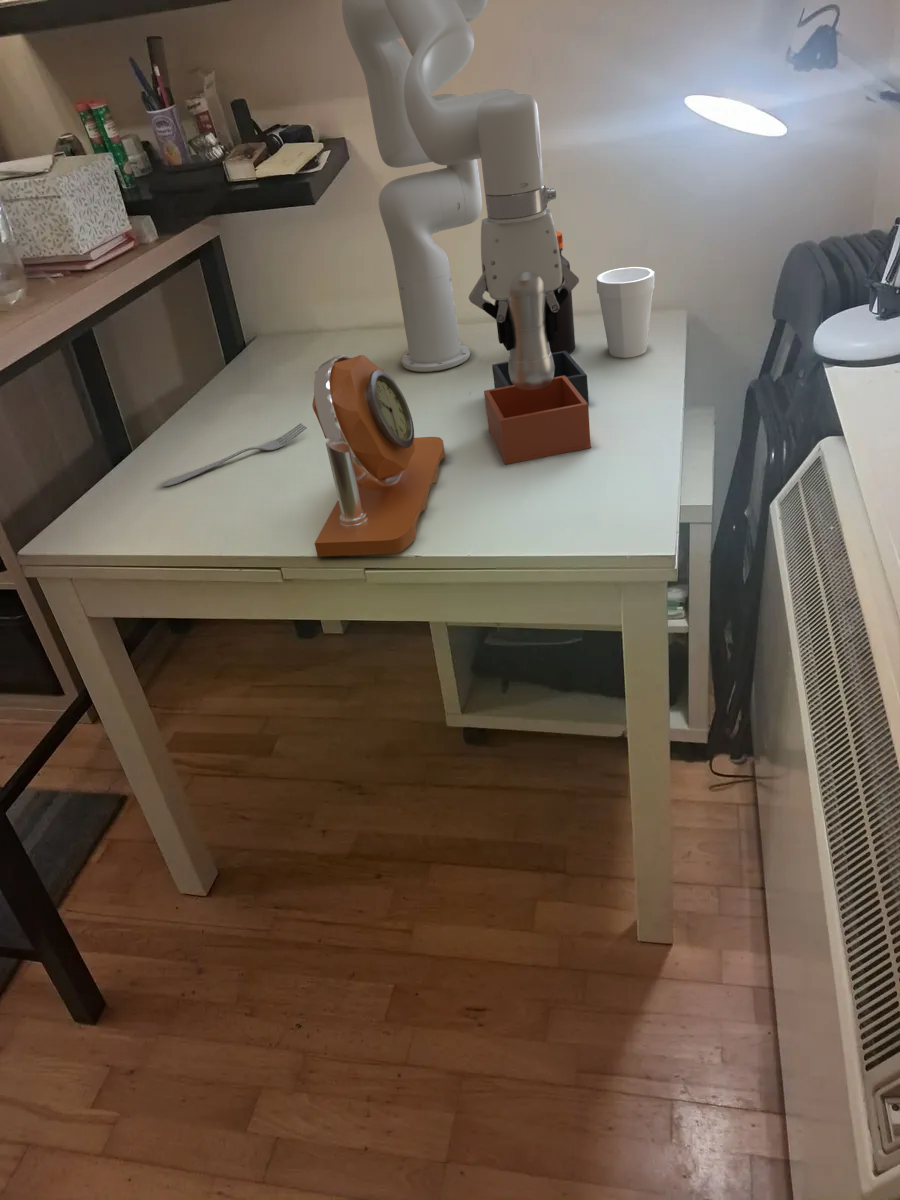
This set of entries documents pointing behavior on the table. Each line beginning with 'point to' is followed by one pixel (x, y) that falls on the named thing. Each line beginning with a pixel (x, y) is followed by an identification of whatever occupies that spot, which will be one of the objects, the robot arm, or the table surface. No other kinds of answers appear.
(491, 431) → the terracotta bin
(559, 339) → the vinegar
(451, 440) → the table surface
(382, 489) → the desk clock
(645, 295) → the foam cup
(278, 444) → the fork
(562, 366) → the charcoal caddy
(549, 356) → the metal bottle
